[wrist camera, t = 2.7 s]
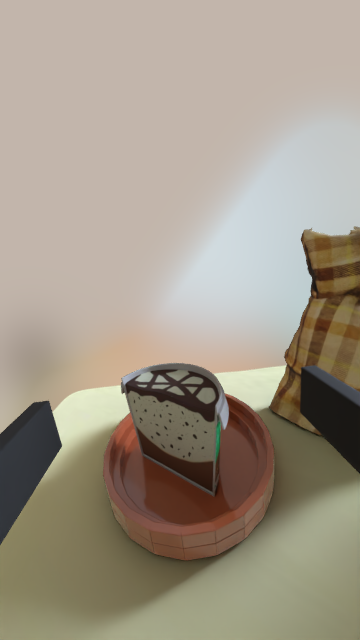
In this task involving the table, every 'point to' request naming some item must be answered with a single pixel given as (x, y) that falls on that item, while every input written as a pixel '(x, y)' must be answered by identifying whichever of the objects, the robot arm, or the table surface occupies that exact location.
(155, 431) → the food container
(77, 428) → the table surface
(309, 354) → the plaid fabric bag
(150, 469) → the terracotta plant saucer
